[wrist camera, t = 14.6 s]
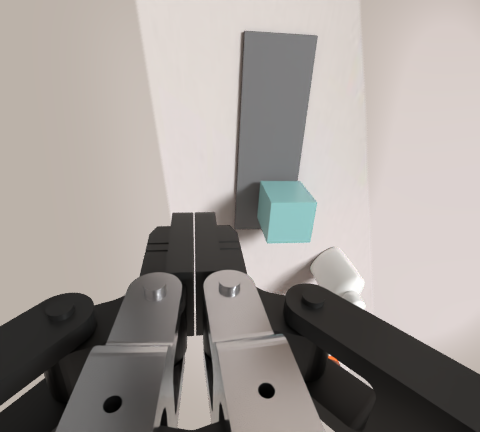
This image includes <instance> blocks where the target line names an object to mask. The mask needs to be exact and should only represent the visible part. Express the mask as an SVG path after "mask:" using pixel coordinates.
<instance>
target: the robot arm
mask: <svg viewBox="0 0 480 432" xmlns="http://www.w3.org/2000/svg"><path fill="white" fill-rule="evenodd" d="M195 274H196V335H203V344H204V367H205V375H206V383H207V391H208V399H209V408H210V416H211V424H210V425H207V426H205V427H202V428H199V429H196V430H184V429H179V428H177V426H178V425H177V424H178V415H179V407H180V399H181V390H182V381H183V373H184V364H185V352H186V349H187V336H194V237H193V213H173V214H172V221H171V226H163V227H162V226H161V227H157V228H155V230H153V231H152V232H151V234H150V235H149V239H148V243H147V247H146V252H145V256H144V260H143V264H142V268H141V273H140V277H139V278H137V279H135V280H134V281H133V282H132V283H131V284H130V285H129V287H128V289H127V292H126V295H125V296H123V297H121V298H118V299H116V300H113V301H109V302H105V303H102V304H98V305H94V303H93V301H92V299H91V298H90V297H88V296H86V295H84V294H81V293H65V294H60V295H57V296H54V297H51V298H49V299H47V300H45V301H43V302H41V303H40V304H38V305H36V306H34V307H33V308H31V309H29V310H28V311H26V312H24V313H22V314H21V315H19V316H17V317H16V318H14V319H12V320H10V321H9V322H7V323H5V324H3V325H2V326H0V405H2V404H3V403H4V402H6V401H7V400H8V399H10V398H11V397H12V396H13V395H15V394H16V393H18V392H19V391H20V390H22V389H23V388H24V387H26V386H27V385H28V384H29V383H31V382H32V381H33V380H35V379H36V378H37V377H39V376H40V375H41V374H43V373H44V376H45V378H44V379H43V380H42V381H41V382H39V383H38V384H37V385H36V386H34V387H33V388H32V389H30V390H29V391H28V392H26V393H25V394H24V395H22V396H21V397H20V398H19V399H17V400H16V401H15V402H13V403H12V404H11V405H10V406H8V407H7V408H6V409H4V410H3V411H2V412H0V432H325V430H324V428H323V425H322V423H321V420H322V421H323V422H324V423H325V424H326V425H328V426H329V427H330V428H331V429H332V430H334V431H335V432H480V374H478V373H476V372H474V371H473V370H471V369H469V368H467V367H465V366H464V365H462V364H460V363H458V362H457V361H455V360H453V359H451V358H449V357H448V356H446V355H444V354H442V353H440V352H439V351H437V350H435V349H433V348H431V347H430V346H428V345H426V344H424V343H423V342H421V341H419V340H417V339H415V338H414V337H412V336H410V335H408V334H406V333H404V332H403V331H401V330H399V329H397V328H396V327H394V326H392V325H390V324H389V323H387V322H385V321H383V320H381V319H379V318H378V317H376V316H374V315H372V314H371V313H369V312H367V311H365V310H363V309H362V308H360V307H358V306H356V305H355V304H353V303H351V302H349V301H347V300H346V299H344V298H342V297H340V296H338V295H337V294H335V293H333V292H331V291H329V290H328V289H326V288H324V287H321V286H319V285H315V284H298V285H295V286H293V287H291V288H290V289H289V290H288V291H287V293H286V296H284V295H278V294H273V293H269V292H266V291H263V290H261V289H259V288H257V287H256V286H255V283H254V281H253V280H252V278H251V277H249V276H248V275H247V272H246V267H245V263H244V259H243V255H242V251H241V246H240V242H239V238H238V234H237V232H236V231H235V230H234V229H233V228H232V227H231V226H230V225H217V224H216V217H215V212H195ZM329 354H330V355H331V356H333V357H334V358H335V359H337V360H338V361H340V362H341V363H343V364H344V365H345V366H347V367H348V368H350V369H351V370H353V371H354V372H356V373H357V374H358V375H360V376H361V377H363V378H364V379H365V380H366V381H368V382H369V383H370V385H371V386H372V387H373V389H374V390H373V389H372V388H370V387H369V386H367V385H366V384H365V383H363V382H362V381H360V380H359V379H358V378H356V377H355V376H353V375H352V374H350V373H349V372H348V371H346V370H345V369H343V368H342V367H340V366H339V365H338V364H336V363H335V362H333V361H332V360H331V359H329V358H328V356H329ZM320 419H321V420H320Z"/></svg>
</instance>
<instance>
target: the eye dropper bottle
mask: <svg viewBox="0 0 480 432" xmlns="http://www.w3.org/2000/svg"><path fill="white" fill-rule="evenodd" d="M310 270H311V272H312V274H313V276H314V278H315V280H316V282H317V283H318V285H319V286H321V287H324V288H326V289H328V290H329V291H331V292H333V293H335V294H337V295H338V296H340V297H342V298H344V299H346V300H347V301H349V302H351V303H353V304H355V305H356V306H358V307H360V308H362V309H363V310H365V306H366V305H365V303H364V301H363V300H362V298H361V297H360V295H359V294H360V293H361V291H362V290H363V287H364V284H365V282H364V280H363V278H362V277H361V275H360V274H359V272H358V271H357V270H356V268H355V267H354V265H353V264H352V263H351V261H350V260H349V259H348V257H347V256H346V255H345V253H344V252H343V251H342V250H341V249H340V248H338V247H332V248H330V249H328V250H326V251H324V252H323V253H321V254H320V255H319V256H318V257H317V258H316V259H315V260H314V262H313V263H312V265H311V267H310Z"/></svg>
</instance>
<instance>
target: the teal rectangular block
mask: <svg viewBox="0 0 480 432" xmlns="http://www.w3.org/2000/svg"><path fill="white" fill-rule="evenodd" d="M316 206H317V202H316V200H315V199H314V198H313V197H312V195H311V194H310V193H309V192H308V190H307V189H306V188H305V187H304V186H303V184H302V183H301V182H300V181H260V191H259V203H258V214H257V218H258V221H259V223H260V226H261V229H262V231H263V234H264V237H265V239H266V242H267V243H305V242H310V240H311V234H312V229H313V223H314V217H315V212H316Z"/></svg>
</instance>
